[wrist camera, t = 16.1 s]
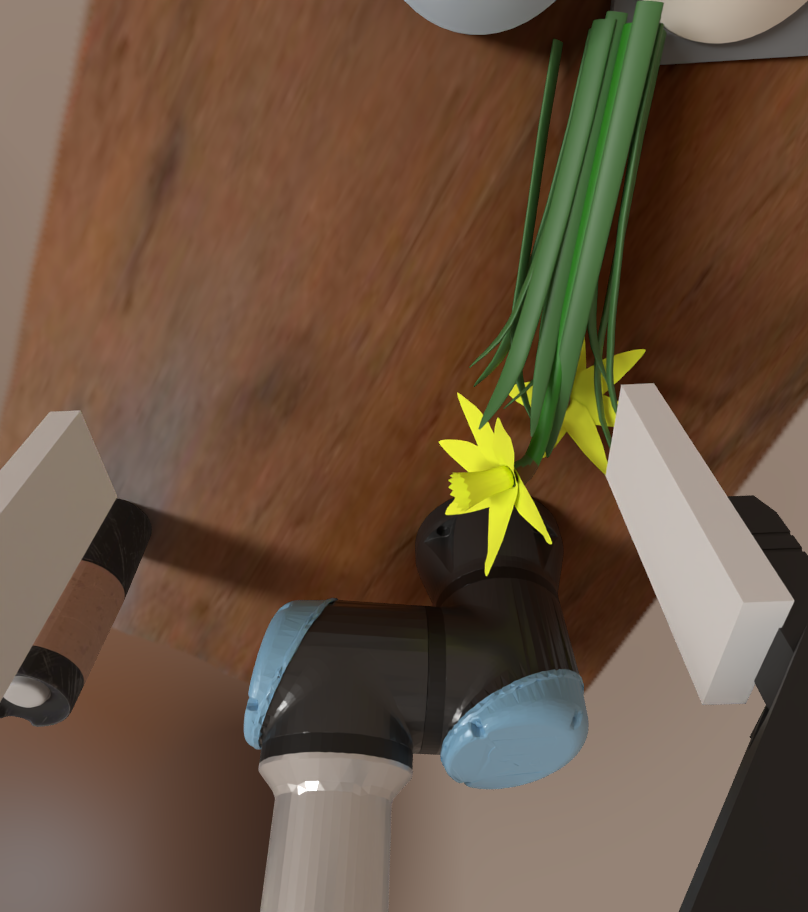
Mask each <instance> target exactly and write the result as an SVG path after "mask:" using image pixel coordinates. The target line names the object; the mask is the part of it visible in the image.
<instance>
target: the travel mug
mask: <svg viewBox="0 0 808 912" xmlns="http://www.w3.org/2000/svg"><path fill="white" fill-rule="evenodd" d="M150 536H151V524H150V521H149V519H148V518H147V516H146V515H145V514H144V513H143V512H142V511H141V510H140V509H139V508H137V507H136V506H134V505H133V504H131V503H128V502H126V501H123V500H120V499H116V500H115V501H114V503H113V505H112V507H111V509H110V510H109V512H108V514H107V516H106V517H105V519H104V521H103V523H102V524H101V526H100V528H99V530H98V531H97V533H96V535H95V537H94V538H93V540H92V542H91V544H90V545H89V547H88V549H87V551H86V552H85V554H84V556H83V558H82V559H81V561H80V563H79V565H78V566H77V568H76V570H75V572H74V573H73V575H72V577H71V579H70V580H69V582H68V584H67V586H66V587H65V589H64V591H63V593H62V594H61V596H60V598H59V600H58V601H57V603H56V605H55V607H54V608H53V610H52V612H51V614H50V615H49V617H48V619H47V621H46V623H45V624H44V626H43V628H42V630H41V631H40V633H39V635H38V637H37V638H36V640H35V642H34V644H33V645H32V647H31V649H30V651H29V652H28V654H27V656H26V658H25V659H24V661H23V663H22V665H21V666H20V668H19V670H18V672H17V673H16V675H15V677H14V679H13V680H12V682H11V684H10V686H9V687H8V689H7V691H6V693H5V694H4V696H3V698H2V700H1V701H0V718H3V717H6V716H15V717H20V718H24V719H26V720H28V721H30V722H31V724H32V725H33V726H37V727H39V726H49V725H54V724H57V723H59V722H61V721H63V720H64V719H66V718H67V717H68V716H69V714H70V713H71V711H72V709H73V707H74V705H75V703H76V701H77V698H78V696H79V694H80V692H81V690H82V688H83V686H84V684H85V682H86V679H87V677H88V675H89V673H90V671H91V669H92V667H93V665H94V662H95V661H96V659H97V656H98V654H99V652H100V650H101V648H102V646H103V644H104V642H105V640H106V637H107V635H108V633H109V631H110V629H111V627H112V625H113V623H114V621H115V619H116V616H117V614H118V612H119V610H120V608H121V606H122V604H123V602H124V599H125V597H126V595H127V592H128V590H129V587H130V585H131V583H132V580H133V578H134V575H135V573H136V571H137V568H138V566H139V563H140V561H141V559H142V556H143V554H144V551H145V549H146V547H147V544H148V541H149V539H150Z"/></svg>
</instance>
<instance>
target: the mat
mask: <svg viewBox="0 0 808 912" xmlns="http://www.w3.org/2000/svg"><path fill="white" fill-rule="evenodd" d="M637 1H639V0H611V7H610V11H616V12H624V13H628V17H627V22H626V24H627V23H632V21H633V16H634V12H635V7H636V3H637ZM663 29H664V28H663ZM664 30H665V29H664ZM666 32H667V34H666V38H665V43H664V48H663V52H662V57H661V61H660V65H666V64H682V63H698V62H714V61H729V60H745V59H761V58H777V57H793V56H808V1H807V2H806V3H805V4H804V5H802V6H801V7H800V8H799V9H798V10H797V11H796V12H794V13H793V14H792V15H790V16H789V17H787V18H786V19H785V20H783V21H782V22H780V23H779V24H777V25H775V26H773V27H772V28H770V29H768V30H766V31H764V32H762V33H760V34H757V35H755V36H753V37H750V38H747V39H743V40H740V41H736V42H729V43H703V42H697V41H691V40H687V39H684V38H681V37H678V36H676V35H674V34H672V33H670V32H669V31H667V30H666Z"/></svg>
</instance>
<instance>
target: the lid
mask: <svg viewBox="0 0 808 912" xmlns="http://www.w3.org/2000/svg"><path fill="white" fill-rule="evenodd" d="M639 1H658V2H663V3H664V5H663V10H662V14H661V20H660V23H663V24H664V29H665V30H667V31H669V32H670V33H672V34H674V35H676V36H678V37H681V38H684V39H687V40H691V41H697V42H703V43H729V42H736V41H740V40H743V39H747V38H750V37H753V36H755V35H757V34H760V33H762V32H764V31H766V30H768V29H770V28H772V27H773V26H775V25H777V24H779V23H780V22H782V21H783V20H785V19H786V18H787V17H789V16H790V15H792V14H793V13H794V12H796V11H797V10H798V9H799V8H800V7H801V6H802V5H804V4H805V3H806V2H807V1H808V0H639Z"/></svg>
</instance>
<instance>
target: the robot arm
mask: <svg viewBox="0 0 808 912" xmlns="http://www.w3.org/2000/svg"><path fill="white" fill-rule="evenodd" d="M606 478H607V480H608V483H609V485H610V487H611V490H612V492H613V494H614V497H615V499H616V501H617V504H618V506H619V509H620V511H621V513H622V516H623V518H624V520H625V523H626V525H627V528H628V530H629V532H630V535H631V537H632V539H633V542H634V544H635V547H636V549H637V551H638V554H639V556H640V558H641V561H642V563H643V565H644V568H645V570H646V573H647V575H648V577H649V580H650V582H651V584H652V587H653V589H654V592H655V594H656V596H657V599H658V601H659V603H660V605H661V608H662V610H663V613H664V615H665V617H666V620H667V622H668V625H669V627H670V629H671V632H672V634H673V637H674V639H675V641H676V644H677V646H678V648H679V651H680V653H681V656H682V658H683V660H684V663H685V665H686V667H687V670H688V672H689V674H690V677H691V679H692V681H693V684H694V686H695V689H696V691H697V693H698V696H699V698H700V701H701V703H702V705H717V704H746V702H747V700H748V698H749V696H750V694H751V692H752V689H753V687H754V685H755V684H756V686H757V688H758V690H759V692H760V694H761V696H762V698H763V700H764V702H765V703H766V706H765V709H764V710H763V712H762V714H761V716H760V718H759V720H758V722H757V724H756V726H755V728H754V730H753V732H752V734H751V736H750V738H751V740H750V743H749V745H748V747H747V750H746V752H745V755H744V757H743V760H742V762H741V764H740V767H739V769H738V771H737V774H736V776H735V779H734V781H733V783H732V786H731V788H730V791H729V793H728V796H727V798H726V800H725V802H724V805H723V807H722V810H721V812H720V815H719V817H718V819H717V821H716V824H715V826H714V829H713V831H712V833H711V836H710V838H709V841H708V843H707V845H706V848H705V850H704V853H703V855H702V857H701V860H700V862H699V864H698V867H697V869H696V872H695V874H694V876H693V879H692V881H691V884H690V886H689V888H688V891H687V893H686V896H685V898H684V900H683V903H682V905H681V908H680V910H679V912H808V555H807V554H806V553H805V552H802V547H801V546H800V544H799V543H798V542H797V540H796V539H795V537H794V536H793V535H790V530H789V529H788V528H787V526H786V525H785V524H784V522H783V521H782V519H781V518H780V517H779V515H778V514H777V512H775V511H774V510H773V509H771V508H770V507H769V506H767V505H766V504H764V503H763V502H761V501H760V500H759V499H758V498H756V497H755V496H729V497H727V495H726V494H725V492H724V491H723V489H722V488H721V486H720V485H719V483H718V482H717V480H716V478H715V477H714V475H713V474H712V472H711V471H710V469H709V468H708V466H707V465H706V463H705V461H704V460H703V458H702V457H701V455H700V454H699V452H698V451H697V449H696V448H695V446H694V444H693V443H692V441H691V440H690V438H689V437H688V435H687V434H686V432H685V431H684V429H683V427H682V426H681V424H680V423H679V421H678V420H677V418H676V417H675V415H674V414H673V412H672V410H671V409H670V407H669V406H668V404H667V403H666V401H665V400H664V398H663V397H662V395H661V393H660V392H659V390H658V389H657V387H656V386H655V384H654V383H648V384H627V385H621V390H620V396H619V401H618V407H617V413H616V419H615V424H614V430H613V436H612V442H611V447H610V453H609V459H608V464H607V470H606ZM116 498H117V495H116V493H115V490H114V488H113V486H112V483H111V481H110V479H109V476H108V474H107V472H106V469H105V467H104V464H103V462H102V460H101V457H100V455H99V453H98V450H97V448H96V446H95V443H94V441H93V439H92V436H91V434H90V432H89V429H88V427H87V425H86V422H85V420H84V418H83V415H82V413H81V411H61V412H49V414H48V415H47V416H46V417H45V418H44V419H43V421H42V422H41V423H40V424H39V425H38V427H37V428H36V429H35V430H34V431H33V432H32V434H31V435H30V436H29V437H28V438H27V440H26V441H25V442H24V443H23V444H22V445H21V447H20V448H19V449H18V450H17V451H16V453H15V454H14V455H13V456H12V457H11V458H10V460H9V461H8V462H7V463H6V464H5V465H4V467H3V468H2V469H1V470H0V701H1V700H2V698H3V696H4V694H5V693H6V691H7V689H8V687H9V686H10V684H11V682H12V680H13V679H14V677H15V675H16V673H17V672H18V670H19V668H20V666H21V665H22V663H23V661H24V659H25V658H26V656H27V654H28V652H29V651H30V649H31V647H32V645H33V644H34V642H35V640H36V638H37V637H38V635H39V633H40V631H41V630H42V628H43V626H44V624H45V623H46V621H47V619H48V617H49V615H50V614H51V612H52V610H53V608H54V607H55V605H56V603H57V601H58V600H59V598H60V596H61V594H62V593H63V591H64V589H65V587H66V586H67V584H68V582H69V580H70V579H71V577H72V575H73V573H74V572H75V570H76V568H77V566H78V565H79V563H80V561H81V559H82V558H83V556H84V554H85V552H86V551H87V549H88V547H89V545H90V544H91V542H92V540H93V538H94V537H95V535H96V533H97V531H98V530H99V528H100V526H101V524H102V523H103V521H104V519H105V517H106V516H107V514H108V512H109V510H110V509H111V507H112V505H113V503H114V501H115V500H116ZM454 499H455V498H453V499H450V500H448V501H447V502H445V503H443V504H442V505H440V506H439V507H437V508H436V509H435V510H434V511H432V512H431V513H430V514H429V515H428V516H427V518H426V519H425V520H424V522H423V523H422V525H421V526H420V528H419V531H418V533H417V536H416V543H415V553H416V566H417V570H418V573H419V576H420V578H421V580H422V582H423V584H424V587H425V589H426V591H427V593H428V595H429V597H430V599H431V601H432V603H433V605H434V607H432V606H417V605H401V604H387V603H372V602H357V601H343V600H338V599H337V598H330V599H327V600H295V601H291V602H288V603H286V604H285V605H284V606H282V607H281V608H280V609H279V610H278V612H277V613H276V614H275V615H274V617H273V618H272V620H271V622H270V624H269V626H268V628H267V631H266V633H265V636H264V638H263V641H262V644H261V647H260V650H259V653H258V656H257V659H256V663H255V667H254V670H253V674H252V678H251V683H250V688H249V697H250V698H249V700H248V703H247V708H246V712H245V719H244V735H245V739H246V741H247V742H248V744H249V745H251V746H253V747H254V748H255V749H261V756H260V764H259V772H260V773H261V775H262V776H263V778H264V779H265V781H266V782H267V783H268V785H269V786H270V788H271V789H272V791H273V793H274V796H275V805H274V812H273V819H272V827H271V835H270V842H269V850H268V857H267V866H266V872H265V880H264V888H263V895H262V904H261V910H260V912H388V905H389V875H390V843H391V842H390V841H391V811H392V810H391V809H392V802H393V799H394V798H395V797H396V795H397V794H398V793H399V792H400V791H401V790H402V789H403V788H404V786H406V784H407V783H408V782H409V781H410V780H411V779H412V773H413V772H412V761H413V754H435V755H440V756H441V762H442V764H443V766H444V767H445V770H446V772H447V774H448V775H449V776H450V777H451V778H452V779H453V780H455V781H456V782H458V783H462V782H464V783H465V785H467V786H469V787H472V788H478V789H502V788H509V787H515V786H520V785H524V784H527V783H531V782H534V781H537V780H539V779H542V778H544V777H546V776H548V775H549V774H551V773H554V772H555V771H557V770H559V769H561V768H562V767H563V766H565V765H566V764H567V763H569V762H570V761H571V760H572V759H573V758H574V757H575V756H576V755H577V754H578V752H579V751H580V749H581V748H582V746H583V745H584V743H585V740H586V738H587V734H588V716H587V711H586V706H585V701H584V696H583V694H584V684H583V681H582V678H581V676H580V675H579V672H578V668H577V665H576V661H575V657H574V653H573V650H572V646H571V642H570V639H569V635H568V631H567V628H566V624H565V620H564V617H563V613H562V609H561V606H560V602H559V598H558V588H559V581H560V575H561V568H562V561H563V543H562V539H561V535H560V532H559V528H558V525H557V523H556V521H555V519H554V517H553V515H552V514H551V513H550V512H549V511H548V510H547V509H546V508H545V507H544V506H543V505H542V504H540V503H539V502H537V501H536V500H534V499H532V500H533V502H534V503H535V505H536V507H537V510H538V512H539V514H540V516H541V518H542V520H543V523H544V525H545V527H546V530H547V532H548V534H549V536H550V538H551V541H552V544H549V543H547V542H546V540H545V538H544V536H543V535H542V534H541V533H540V532H539V531H538V530H536V529H535V528H534V527H533V526H532V525H531V524H530V523H529V522H528V521H527V520H526V519H525V518H523V517H522V516H521V515H520V514H519V512H518V511H517V509H516V507H515V506H513V510H512V513H511V516H510V519H509V522H508V525H507V529H506V532H505V535H504V538H503V541H502V543H501V546H500V548H499V551H498V553H497V555H496V558H495V560H494V562H493V564H492V567H491V569H490V571H489V574H488V575H487V576H486V575H485V562H486V558H487V554H488V527H489V508H490V507H488V508H484V509H481V510H477V511H474V512H469V513H463V514H455V515H446V514H445V512H446V510H447V508H448V507H449V505H450V504H451V503H452V502H453V501H454Z"/></svg>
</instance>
